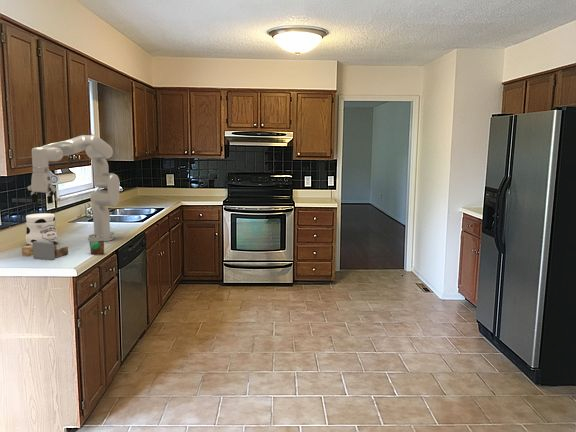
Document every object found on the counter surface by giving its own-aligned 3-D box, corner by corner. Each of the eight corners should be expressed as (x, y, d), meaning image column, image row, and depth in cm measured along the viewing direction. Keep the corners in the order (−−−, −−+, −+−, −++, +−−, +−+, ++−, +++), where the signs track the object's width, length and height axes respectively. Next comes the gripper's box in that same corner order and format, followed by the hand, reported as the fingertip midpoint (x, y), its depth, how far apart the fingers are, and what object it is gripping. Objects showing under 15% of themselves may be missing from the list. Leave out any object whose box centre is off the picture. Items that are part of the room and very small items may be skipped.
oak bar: (36, 252, 268) (36, 243, 267) (43, 252, 267) (42, 244, 266) (22, 256, 258) (21, 247, 258) (28, 256, 257) (28, 247, 256)
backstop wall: (36, 257, 255) (35, 241, 253) (55, 259, 252) (53, 242, 250) (33, 258, 253) (32, 241, 251) (52, 260, 250) (51, 243, 248)
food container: (85, 252, 268) (84, 235, 266) (95, 250, 272) (95, 233, 271) (94, 256, 259) (93, 238, 258) (105, 254, 264) (104, 236, 262)
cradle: (55, 252, 266) (55, 245, 265) (68, 253, 263) (67, 246, 263) (43, 256, 257) (42, 249, 256) (56, 257, 255) (55, 250, 254)
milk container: (53, 247, 279) (51, 217, 277) (21, 248, 276) (19, 217, 273) (61, 241, 296) (59, 212, 293) (31, 242, 293) (29, 213, 290)
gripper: (59, 171, 253) (61, 203, 256) (32, 170, 257) (34, 201, 260) (49, 171, 246) (51, 204, 248) (21, 170, 250) (23, 202, 253)
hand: (42, 202), depth 254 cm, fingers open, 9 cm apart
